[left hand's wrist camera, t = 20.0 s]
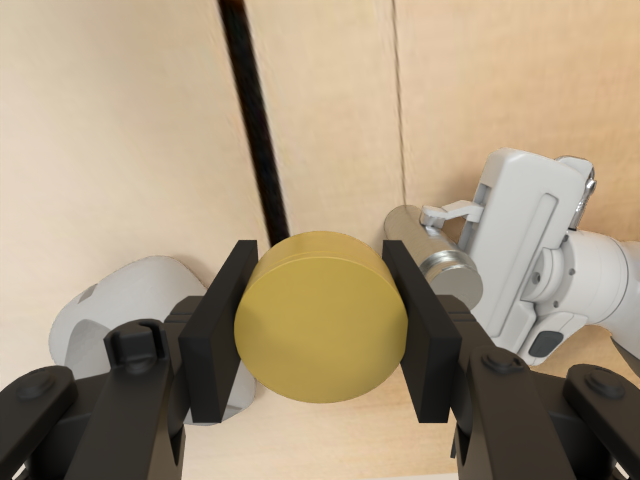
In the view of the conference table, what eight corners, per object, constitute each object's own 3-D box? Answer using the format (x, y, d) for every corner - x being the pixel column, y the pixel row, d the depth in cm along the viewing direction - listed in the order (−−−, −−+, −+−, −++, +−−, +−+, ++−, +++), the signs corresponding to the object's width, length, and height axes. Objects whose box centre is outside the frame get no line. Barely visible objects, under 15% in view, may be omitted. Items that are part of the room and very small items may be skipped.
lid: (217, 295, 12) (196, 332, 10) (326, 198, 11) (327, 218, 9) (317, 380, 14) (316, 428, 12) (424, 303, 12) (444, 341, 10)
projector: (90, 386, 46) (-9, 501, 32) (82, 228, 38) (-53, 290, 25) (253, 411, 47) (223, 532, 33) (276, 262, 40) (251, 339, 26)
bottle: (432, 235, 38) (498, 307, 24) (393, 252, 39) (433, 331, 25) (418, 197, 37) (479, 250, 22) (377, 215, 38) (410, 277, 23)
